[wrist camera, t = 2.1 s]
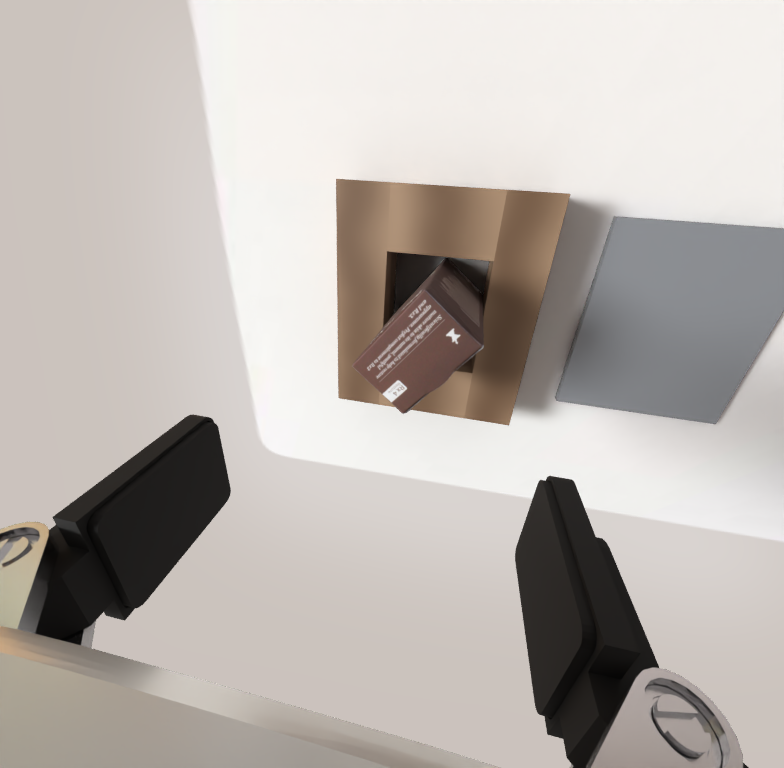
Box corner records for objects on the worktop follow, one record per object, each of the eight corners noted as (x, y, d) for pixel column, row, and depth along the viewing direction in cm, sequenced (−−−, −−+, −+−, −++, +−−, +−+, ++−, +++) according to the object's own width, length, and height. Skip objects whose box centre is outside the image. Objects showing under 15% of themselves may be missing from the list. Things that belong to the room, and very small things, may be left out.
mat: (822, 231, 22) (830, 232, 21) (711, 420, 28) (715, 424, 28) (614, 216, 23) (617, 216, 23) (555, 397, 30) (556, 400, 29)
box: (443, 252, 26) (425, 285, 16) (484, 294, 27) (492, 352, 17) (391, 308, 29) (347, 367, 19) (430, 345, 30) (408, 421, 20)
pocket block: (555, 195, 23) (570, 194, 20) (504, 400, 31) (508, 425, 27) (354, 182, 25) (336, 178, 22) (352, 377, 33) (338, 398, 30)
